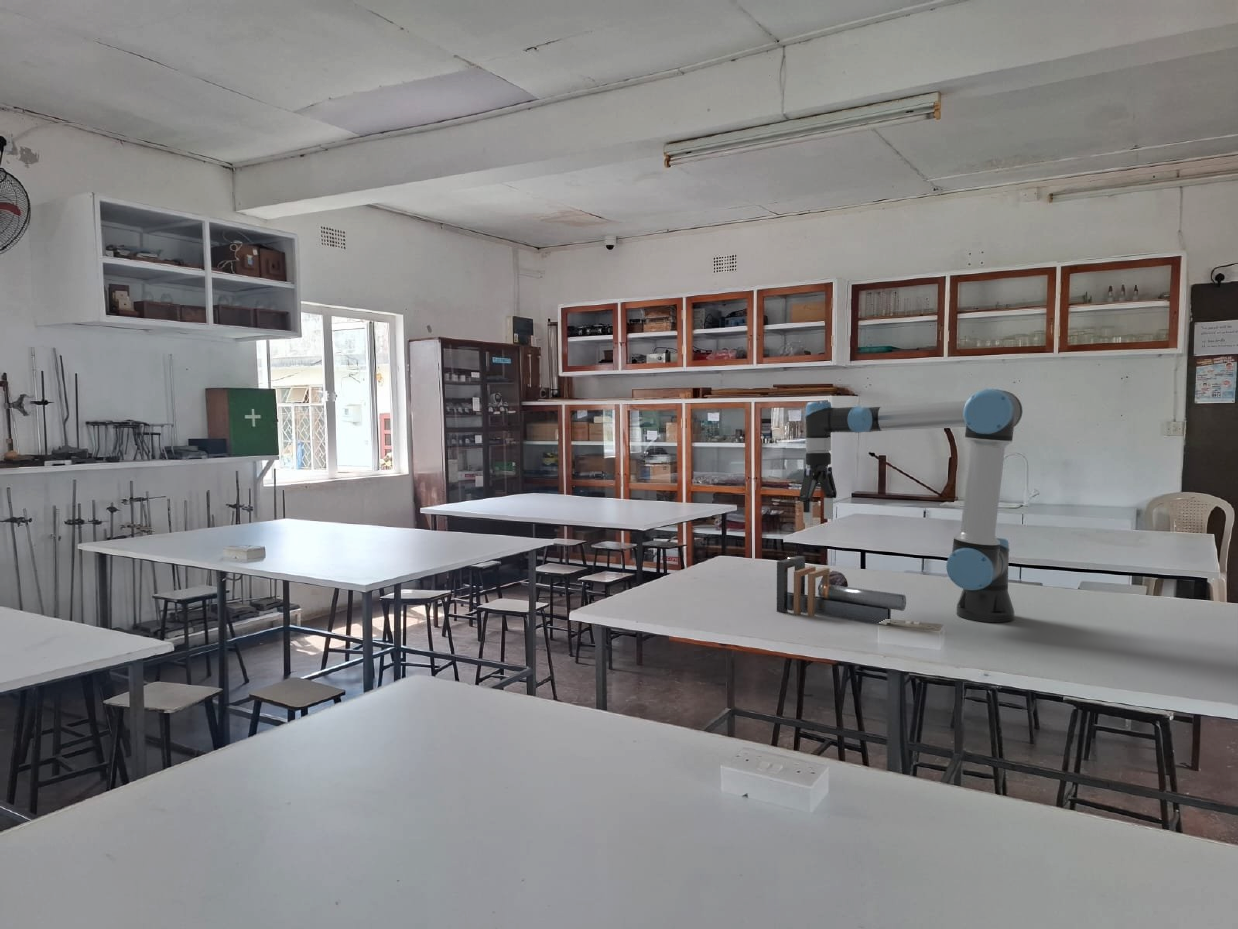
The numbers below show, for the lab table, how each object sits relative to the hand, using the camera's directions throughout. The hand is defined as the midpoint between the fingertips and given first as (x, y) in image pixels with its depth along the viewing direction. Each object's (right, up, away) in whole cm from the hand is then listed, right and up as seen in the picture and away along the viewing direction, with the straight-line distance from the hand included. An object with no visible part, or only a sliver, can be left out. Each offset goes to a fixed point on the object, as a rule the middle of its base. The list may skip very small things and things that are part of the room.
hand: (818, 521), depth 243 cm
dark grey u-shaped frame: (-9, -26, -4) cm, 28 cm away
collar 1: (-6, -26, -7) cm, 28 cm away
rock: (+6, -26, +6) cm, 27 cm away
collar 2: (-3, -26, -10) cm, 28 cm away
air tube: (+7, -22, -19) cm, 30 cm away
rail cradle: (+1, -26, -13) cm, 30 cm away
